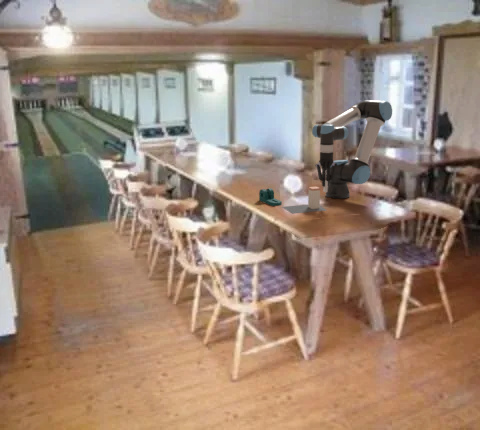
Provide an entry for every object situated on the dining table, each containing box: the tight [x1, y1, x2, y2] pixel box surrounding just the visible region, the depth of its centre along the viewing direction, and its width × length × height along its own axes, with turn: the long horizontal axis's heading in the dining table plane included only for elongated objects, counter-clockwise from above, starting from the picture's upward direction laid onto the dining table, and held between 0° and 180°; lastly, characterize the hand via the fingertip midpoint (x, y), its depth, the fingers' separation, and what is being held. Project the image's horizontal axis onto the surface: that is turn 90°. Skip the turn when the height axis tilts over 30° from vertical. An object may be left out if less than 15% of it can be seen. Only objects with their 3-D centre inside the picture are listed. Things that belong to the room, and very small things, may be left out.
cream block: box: [307, 186, 321, 209], centre depth 305 cm, size 5×5×12 cm
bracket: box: [258, 187, 283, 207], centre depth 320 cm, size 18×7×8 cm, turn 27°
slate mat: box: [282, 203, 327, 215], centre depth 305 cm, size 22×16×1 cm
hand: (325, 191), depth 306 cm, fingers closed
